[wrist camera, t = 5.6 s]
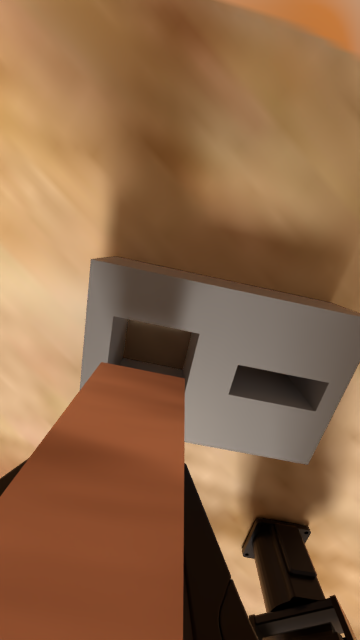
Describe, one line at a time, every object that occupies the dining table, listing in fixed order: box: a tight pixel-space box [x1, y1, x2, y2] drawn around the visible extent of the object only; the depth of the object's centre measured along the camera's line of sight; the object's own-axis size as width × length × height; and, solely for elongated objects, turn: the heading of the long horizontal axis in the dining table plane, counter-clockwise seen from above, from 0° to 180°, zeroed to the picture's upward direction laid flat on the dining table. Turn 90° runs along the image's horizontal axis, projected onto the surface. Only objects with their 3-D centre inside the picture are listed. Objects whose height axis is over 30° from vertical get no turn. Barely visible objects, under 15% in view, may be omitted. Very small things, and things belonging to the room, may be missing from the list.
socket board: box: [80, 257, 360, 465], centre depth 18 cm, size 12×18×5 cm, turn 78°
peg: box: [0, 362, 185, 640], centre depth 7 cm, size 4×4×9 cm
